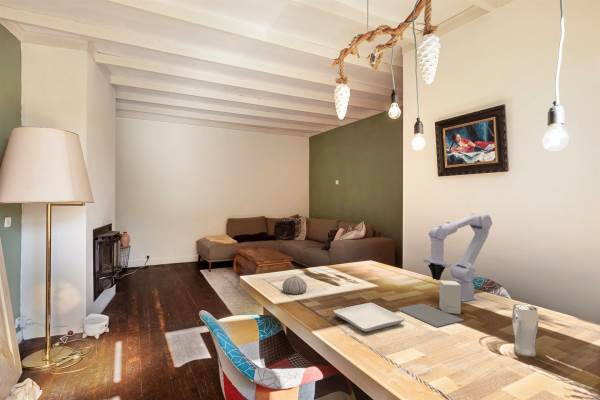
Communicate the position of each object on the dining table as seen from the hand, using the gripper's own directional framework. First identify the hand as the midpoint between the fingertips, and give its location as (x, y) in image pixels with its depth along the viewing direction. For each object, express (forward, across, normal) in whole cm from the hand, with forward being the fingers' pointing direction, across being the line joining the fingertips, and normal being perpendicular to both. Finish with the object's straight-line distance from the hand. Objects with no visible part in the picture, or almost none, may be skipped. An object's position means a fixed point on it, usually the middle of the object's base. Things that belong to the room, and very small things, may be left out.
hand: (436, 279), depth 156 cm
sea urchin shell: (+12, -43, -56) cm, 72 cm away
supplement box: (+11, +12, -5) cm, 17 cm away
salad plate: (+12, +6, -46) cm, 48 cm away
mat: (+11, +12, -18) cm, 24 cm away
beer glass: (+11, +49, -16) cm, 53 cm away
